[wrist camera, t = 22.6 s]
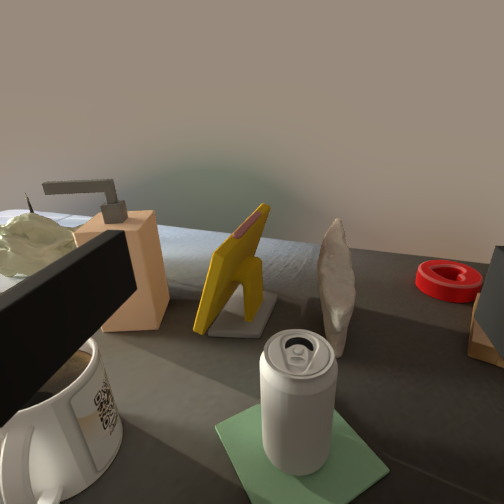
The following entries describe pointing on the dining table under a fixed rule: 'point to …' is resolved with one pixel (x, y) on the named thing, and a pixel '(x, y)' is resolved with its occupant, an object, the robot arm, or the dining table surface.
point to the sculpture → (336, 286)
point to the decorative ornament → (449, 281)
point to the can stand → (482, 343)
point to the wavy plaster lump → (33, 244)
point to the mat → (306, 486)
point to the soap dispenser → (140, 248)
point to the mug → (61, 434)
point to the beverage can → (297, 400)
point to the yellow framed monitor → (227, 279)
